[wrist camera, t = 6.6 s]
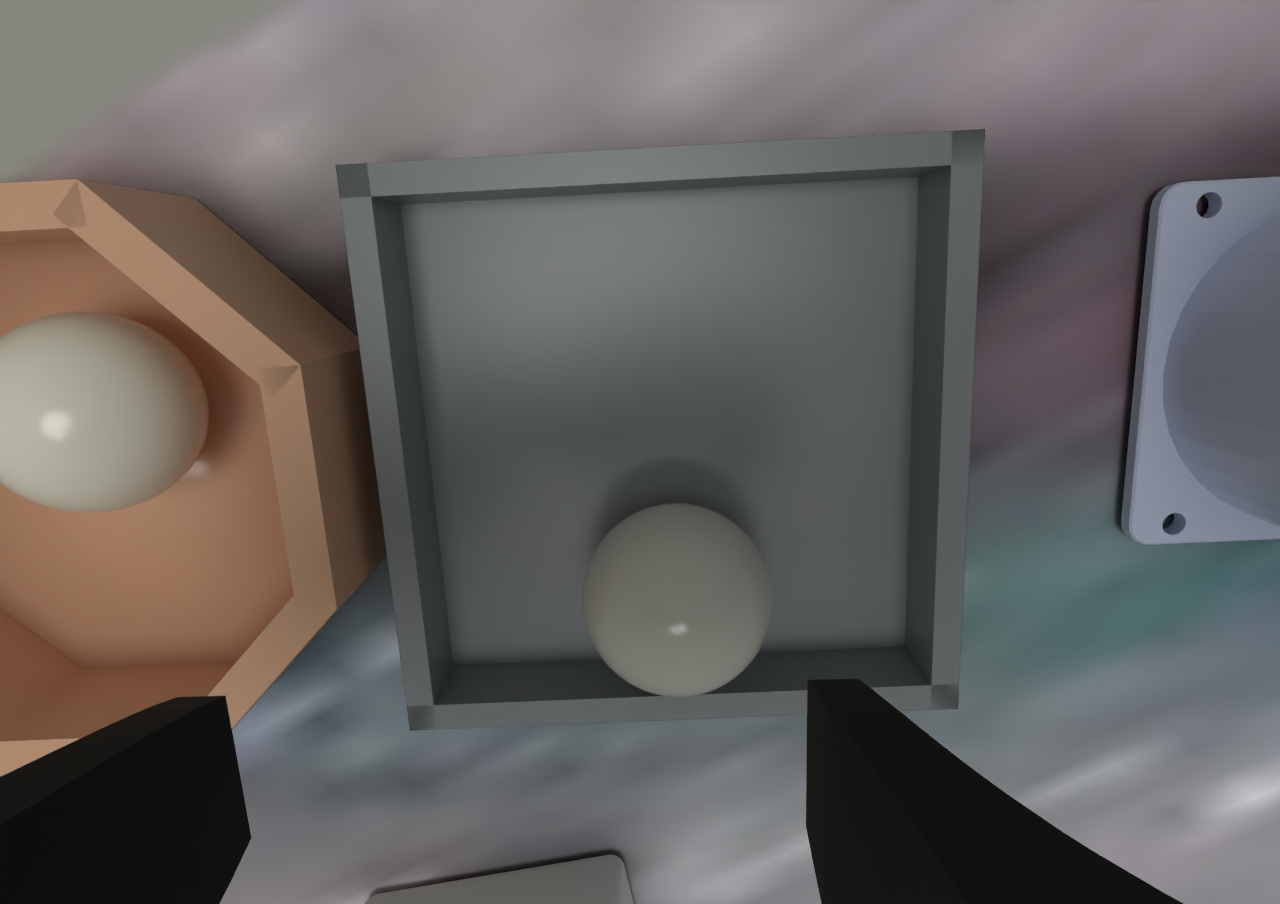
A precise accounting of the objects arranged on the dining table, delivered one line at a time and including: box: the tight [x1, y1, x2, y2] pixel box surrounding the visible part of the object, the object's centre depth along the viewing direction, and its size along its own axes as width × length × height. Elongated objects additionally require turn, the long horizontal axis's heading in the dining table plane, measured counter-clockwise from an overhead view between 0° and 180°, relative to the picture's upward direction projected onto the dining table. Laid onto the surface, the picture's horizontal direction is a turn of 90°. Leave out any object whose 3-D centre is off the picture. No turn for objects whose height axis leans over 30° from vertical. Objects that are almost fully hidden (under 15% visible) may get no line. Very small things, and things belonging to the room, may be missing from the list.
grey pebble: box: [582, 503, 773, 697], centre depth 16 cm, size 4×4×4 cm
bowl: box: [0, 179, 387, 776], centre depth 17 cm, size 12×12×4 cm
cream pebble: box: [0, 311, 209, 513], centre depth 15 cm, size 4×4×4 cm
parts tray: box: [336, 129, 985, 730], centre depth 17 cm, size 12×12×2 cm
